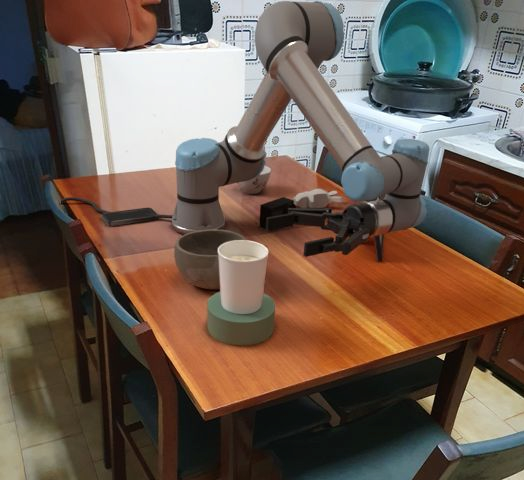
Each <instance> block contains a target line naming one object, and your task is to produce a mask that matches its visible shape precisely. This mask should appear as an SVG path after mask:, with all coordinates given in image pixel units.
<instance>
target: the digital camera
mask: <svg viewBox="0 0 524 480" xmlns="http://www.w3.org/2000/svg"><path fill="white" fill-rule="evenodd" d="M289 208H297V206H296V205H295V203H294V200H293V199H291V198H288V197H285V196H282V197H279V198H277V199H273V200H270V201H268V202H265V203H261V204H260V205H259V225H258V226H259V228H260V229H263V230H264V231H267V230H266V219H267V218H268V217H273V216H279V215H284V214H288V209H289Z"/></svg>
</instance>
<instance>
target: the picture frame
mask: <svg viewBox="0 0 524 480" xmlns="http://www.w3.org/2000/svg"><path fill="white" fill-rule="evenodd" d="M377 199H381V196H379V197H377V198H375V199H373V200H370V202H371V201H376V200H377ZM384 235H385V234H382V235H377V236H373V239H374V247H375V254H376V260H377V261H376V262H382V261H383V256H384V239H385V237H384Z"/></svg>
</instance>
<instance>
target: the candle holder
mask: <svg viewBox="0 0 524 480" xmlns="http://www.w3.org/2000/svg"><path fill="white" fill-rule="evenodd" d="M269 252H270V251H269V249H268V247H266V245H264V244H262V243H260V242H257V241H255V240H254V241H253V240H248V239H247V240H234V241H229V242H226V243H223V244H222V245H220V246H219V248H218V259H219V277H220V289H219V292H220V295H221V304H222V307H223V308H224V309H225V310H227V311H228V312H231V313H235V314H250V313H254V312H256V311H258V310H259V309H260V308H261V305H262V299H263V293H264V290H265V282H266V276H267V275H266V274H267V266H268V258H269V255H270V253H269Z"/></svg>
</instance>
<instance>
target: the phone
mask: <svg viewBox="0 0 524 480" xmlns="http://www.w3.org/2000/svg"><path fill="white" fill-rule="evenodd" d="M113 212H115V213H113ZM121 213H124V214H121ZM148 214H157V212H156V211H155V210H154V209H153V208H152V207H140V208H133V209H125V210H117V211H116V210H115V211H109V212H107V213H101V219H102V220H103V221H104V223H105V224H106V226H109V227H114V226H123V225H129V224H130V225H131V224H137V223H138V224H139V223H144V222H152V221H157V220H159V218H157V216H153V215H148Z"/></svg>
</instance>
